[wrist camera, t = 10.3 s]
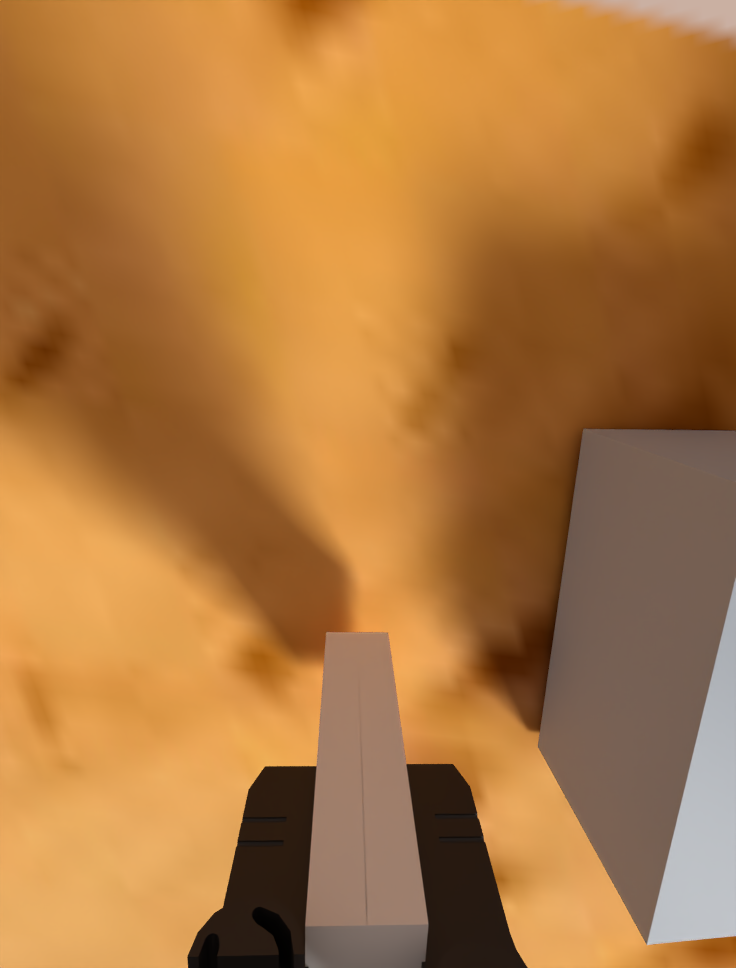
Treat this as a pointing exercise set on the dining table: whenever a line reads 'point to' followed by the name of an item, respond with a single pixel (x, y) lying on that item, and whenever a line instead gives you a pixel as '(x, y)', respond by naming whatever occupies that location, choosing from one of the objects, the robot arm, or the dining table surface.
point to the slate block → (651, 674)
